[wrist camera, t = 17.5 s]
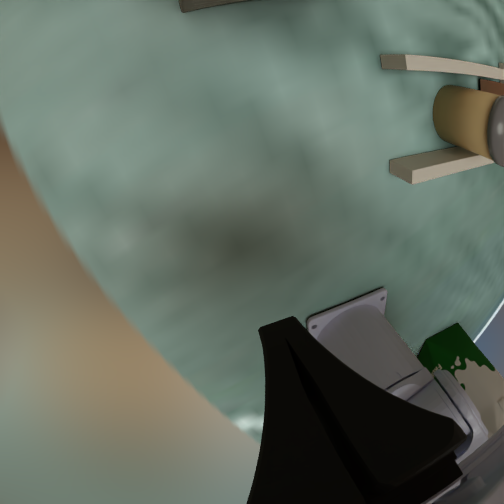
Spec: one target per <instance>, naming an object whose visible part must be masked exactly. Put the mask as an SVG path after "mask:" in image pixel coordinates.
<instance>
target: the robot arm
mask: <svg viewBox="0 0 504 504" xmlns="http://www.w3.org/2000/svg"><path fill="white" fill-rule="evenodd" d="M386 298H387V290H386V289H385V288H381V289H379V290H376V291H374V292H372V293H369V294H367V295H365V296H362V297H360V298H358V299H355V300H353V301H350V302H348V303H345V304H343V305H340V306H338V307H335V308H333V309H330V310H328V311H325V312H323V313H320V314H317V315H315V316H312V317H310V318H309V319H308V320H307V327H308V331H307V330H306V329H305V328H304V326H303V325H302V324H301V323H300V322H299V321H298V320H297V318H296V317H294V316H291V317H288V318H285V319H283V320H280V321H277V322H274V323H271V324H268V325H265V326H262V327H260V328H259V330H258V332H259V335H260V339H261V342H262V347H263V354H264V364H265V412H264V423H263V432H262V439H261V446H260V452H259V457H258V462H257V466H256V471H255V476H254V480H253V484H252V487H251V491H250V495H249V497H248V501H247V504H504V425H503V426H502V427H501V428H500V429H499V430H498V431H497V432H496V433H495V434H493V435H492V436H491V437H490V438H488V436H487V435H488V433H489V432H488V430H487V428H486V427H485V425H484V423H483V422H482V420H481V416H480V413H479V412H478V410H477V408H476V407H475V405H474V403H473V402H472V400H471V399H470V397H469V396H468V395H467V393H466V392H465V391H464V389H463V388H462V387H461V385H460V384H459V383H458V381H457V380H456V379H455V378H454V377H453V375H452V374H451V373H450V372H449V371H447V370H440V369H437V370H436V371H435V372H434V373H433V374H434V376H435V377H436V379H437V380H438V382H439V384H440V386H441V387H442V388H441V387H440V386H439V384H438V383H437V382H436V380H435V379H434V378H433V376H432V375H431V374H430V372H429V371H428V370H427V368H426V367H423V365H422V364H421V363H420V361H419V360H418V359H417V357H416V356H415V355H414V353H413V352H412V351H411V350H410V348H409V347H408V346H407V344H406V343H405V342H404V341H403V339H402V338H401V337H400V336H399V334H398V333H397V332H396V331H395V329H394V328H393V327H392V326H391V324H390V323H389V322H388V321H387V319H386V318H385V317H384V312H385V306H386ZM442 389H443V390H444V391H445V392H444V391H443V390H442ZM445 393H446V394H445ZM460 414H461V415H460Z"/></svg>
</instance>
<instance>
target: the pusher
mask: <svg viewBox="0 0 504 504" xmlns="http://www.w3.org/2000/svg"><path fill="white" fill-rule="evenodd" d="M480 85H481V91H484V92H488V93H492V94H496V95H500V96H502V95H504V84H503V83H499V82H495V81H490V80H484V79H480Z"/></svg>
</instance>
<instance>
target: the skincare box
mask: <svg viewBox="0 0 504 504" xmlns="http://www.w3.org/2000/svg"><path fill="white" fill-rule="evenodd" d="M239 1H246V0H179V4H180V8H181V11H182V12H188V11H192V10H196V9H201V8H206V7H211V6H216V5H221V4H227V3H233V2H239Z"/></svg>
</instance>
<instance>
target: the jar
mask: <svg viewBox="0 0 504 504" xmlns="http://www.w3.org/2000/svg"><path fill="white" fill-rule="evenodd" d="M433 121H434V125H435V129H436V131H437V133H438V135H439V136H440V138H441V139H443V140H444V141H446V142H448V143H451V144H454V145H456V146H459V147H461V148H464V149H467V150H469V151H471V152H474V153H476V154H479V155H481V156H483V157H486V158H488V159H490V160H492V161H494V162H495V163H496V164H498V165H500V166H502V167H504V95H502V96H500V95H496V94H492V93H488V92H484V91H480V90H475V89H470V88H465V87H460V86H455V85H446V86H444V87H442V88H441V89H440V90H439V92H438V93H437V95H436V98H435V101H434V106H433Z"/></svg>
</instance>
